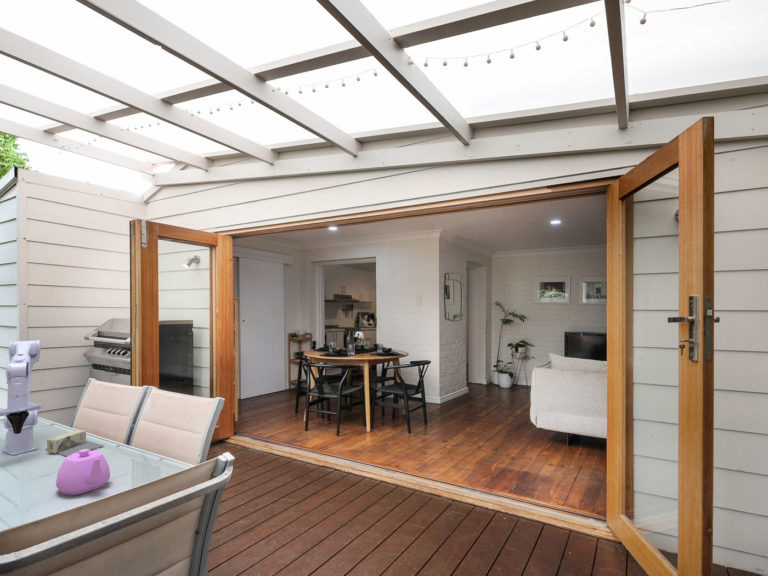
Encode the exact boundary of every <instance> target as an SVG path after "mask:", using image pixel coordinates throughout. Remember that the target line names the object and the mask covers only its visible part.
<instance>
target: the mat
mask: <svg viewBox="0 0 768 576" xmlns="http://www.w3.org/2000/svg"><path fill="white" fill-rule="evenodd" d="M103 446H105V445H103V444H101V443H96V442H93V441H90V440H87V439H86V443H83V444H80V445H77V446H75V447H72V448H69V449H66V450H63V451H60V452H58V453H55V454H56V455H59V456H62V457H65V458H66V457H67V456H70V455H71V454H73V453H79V452H78V451H80V450H82V449H90V450H92V451H95V450H98V449H97V448H99V449H101V448H100V447H102V448H104V447H103ZM94 449H95V450H94ZM44 450H45V451H47V447H46V448H45V449H44Z"/></svg>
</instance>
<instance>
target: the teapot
mask: <svg viewBox="0 0 768 576" xmlns="http://www.w3.org/2000/svg"><path fill="white" fill-rule="evenodd" d="M78 452H79V453H73V454H71V455H70V456H67V457H65V458H64V460H63V461H62V463H61V466H60V468H59V470H58V473H57V476H56V481H55V482H56V483H55V487H56V488H57V489H58V490H59V492H61V493H62V494H64V495H69V496H70V495H71V496H79V495H81V494H85V493H88V492H91V491H94V490H96V489H99V488H102V487H104V486H106V485H107V483H108V481H109V480H110V478H111V470H110V466H109V463H108V461H107V459H106V457H105V456H104V454H103V453H102V452H100V451H98V450H92V451H90V449H82V450H80V451H78Z"/></svg>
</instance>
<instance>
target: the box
mask: <svg viewBox="0 0 768 576" xmlns="http://www.w3.org/2000/svg"><path fill="white" fill-rule="evenodd" d="M86 440H87V430H86V429H84V430H83V429H77V430H73V431H69V432H67V433H63V434H60V435H57V436H54V437H51V438H48V439H47V441H46V448H47V450H46V452H47V453H50V454H56V453H58V452H60V451H63V450H66V449H69V448H72V447H75V446H77V445H80V444H83V443H86Z"/></svg>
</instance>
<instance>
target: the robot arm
mask: <svg viewBox="0 0 768 576" xmlns="http://www.w3.org/2000/svg"><path fill="white" fill-rule="evenodd" d="M41 347H42V345H41V340H39V339H37V340H18V341H17V340H16V341H13V340H11V341H10V342H9V345H8V356H9V361H10V363H9V364H7V365H6V366H5V367H6V368H5V376H6V384H7V400H6V401H7V408H4V409H3V408H2V409H0V417H3V418H4V419H3V425H4V426H3V427H4V428H5V430H7V432H6V433H5V449H2V450H1V451H2V452H3V453H6V454H9V455H11V456H15V455H19V454H24V453H27V452H28V453H29V452H31V451H36V450H38V447H36V446H34V427H35V426H36V425H37V424H38V421H39V410H43V403H34V402H33V401H31V399H30V398H31V385H32V383H31V381H32V370H33V367H34V365H35V364H36V363H38V362H39V361H40V359H41Z"/></svg>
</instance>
